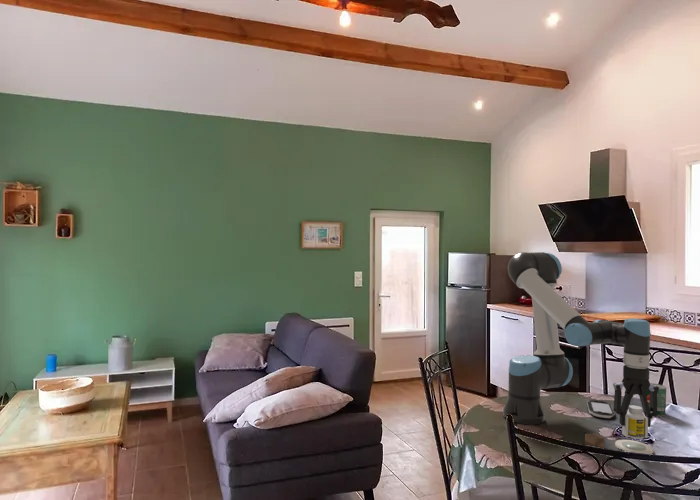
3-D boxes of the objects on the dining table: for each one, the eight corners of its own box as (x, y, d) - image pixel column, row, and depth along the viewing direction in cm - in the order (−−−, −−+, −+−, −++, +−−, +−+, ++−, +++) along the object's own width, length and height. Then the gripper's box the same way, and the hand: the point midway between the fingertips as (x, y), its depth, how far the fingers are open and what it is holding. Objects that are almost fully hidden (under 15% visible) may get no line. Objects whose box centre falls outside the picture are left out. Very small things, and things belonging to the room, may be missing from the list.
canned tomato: (638, 411, 201) (639, 384, 201) (649, 408, 205) (650, 382, 205) (659, 417, 194) (659, 389, 194) (669, 414, 198) (670, 387, 198)
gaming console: (586, 403, 211) (586, 398, 211) (609, 406, 208) (609, 400, 208) (590, 418, 193) (590, 412, 193) (615, 421, 190) (616, 415, 189)
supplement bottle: (637, 440, 160) (638, 410, 160) (621, 434, 165) (622, 405, 165) (647, 437, 162) (648, 408, 162) (631, 432, 167) (632, 403, 167)
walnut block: (593, 450, 162) (593, 438, 162) (584, 445, 166) (585, 434, 165) (603, 449, 163) (604, 437, 163) (594, 444, 166) (595, 433, 166)
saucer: (623, 454, 159) (623, 451, 159) (609, 440, 170) (609, 438, 170) (660, 456, 158) (660, 453, 158) (643, 442, 169) (643, 440, 169)
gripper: (611, 367, 160) (610, 438, 161) (671, 370, 158) (670, 441, 159) (602, 362, 168) (601, 429, 168) (659, 364, 166) (658, 433, 166)
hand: (634, 435), depth 163 cm, fingers closed on supplement bottle, 5 cm apart
